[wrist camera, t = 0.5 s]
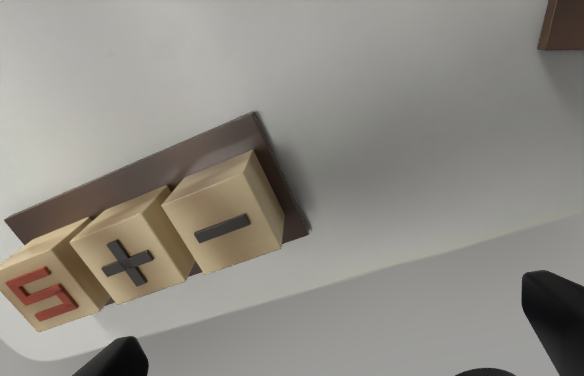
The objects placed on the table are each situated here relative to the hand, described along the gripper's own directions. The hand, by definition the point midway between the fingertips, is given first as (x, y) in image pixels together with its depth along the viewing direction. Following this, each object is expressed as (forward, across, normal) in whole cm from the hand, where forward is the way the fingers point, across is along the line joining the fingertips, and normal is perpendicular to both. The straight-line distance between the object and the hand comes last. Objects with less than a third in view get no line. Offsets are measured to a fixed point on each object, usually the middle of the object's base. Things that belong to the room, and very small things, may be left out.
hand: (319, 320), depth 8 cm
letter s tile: (+12, +16, +3) cm, 20 cm away
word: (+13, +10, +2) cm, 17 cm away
